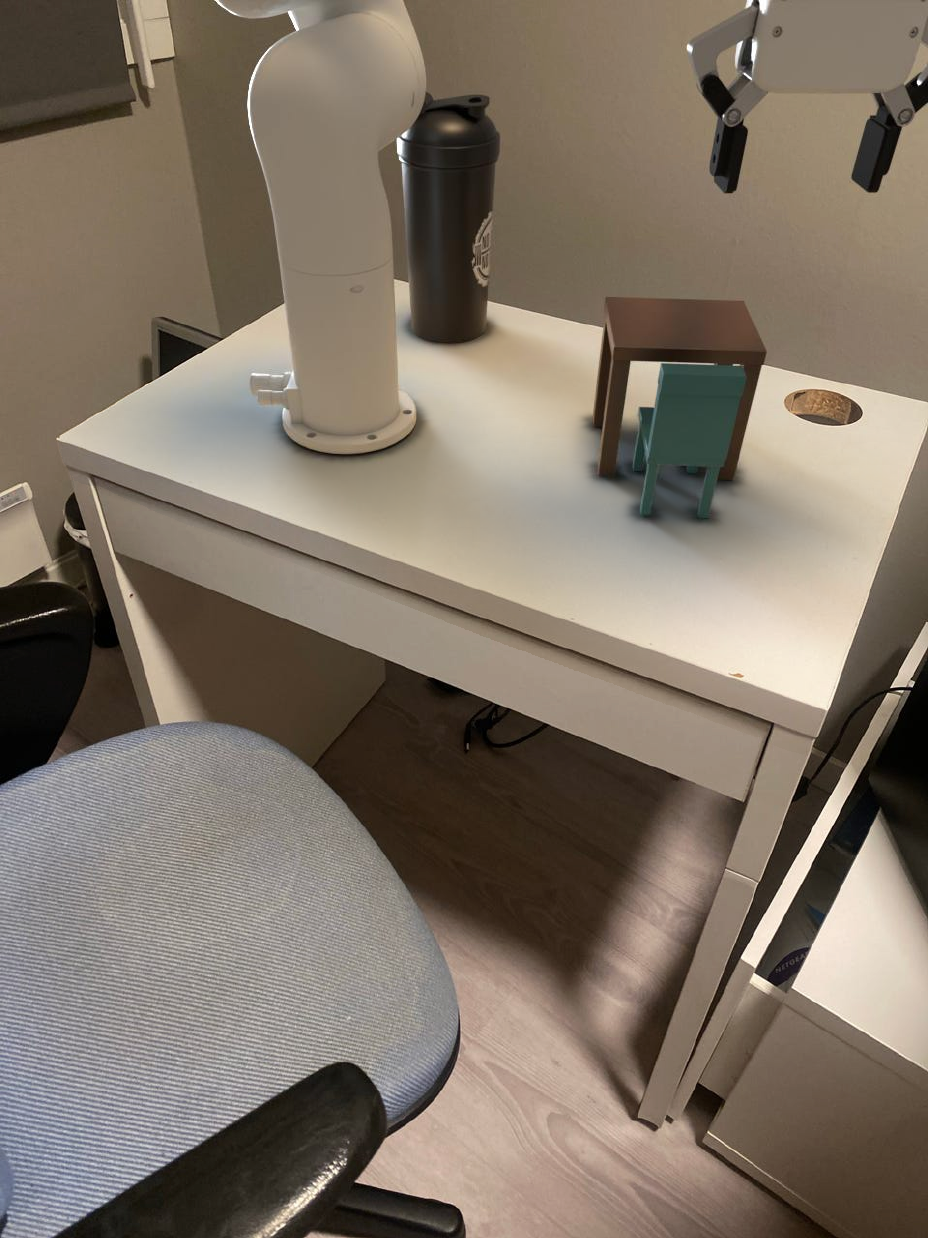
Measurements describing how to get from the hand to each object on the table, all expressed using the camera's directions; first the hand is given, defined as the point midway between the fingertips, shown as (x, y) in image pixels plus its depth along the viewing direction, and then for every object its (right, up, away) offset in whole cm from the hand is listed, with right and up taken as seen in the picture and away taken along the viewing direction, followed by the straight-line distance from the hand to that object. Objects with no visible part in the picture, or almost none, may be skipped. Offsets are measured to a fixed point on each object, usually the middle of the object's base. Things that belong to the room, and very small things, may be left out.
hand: (794, 186), depth 61 cm
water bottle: (-24, +4, +41) cm, 48 cm away
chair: (-5, -18, +16) cm, 25 cm away
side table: (-4, -14, +22) cm, 26 cm away
